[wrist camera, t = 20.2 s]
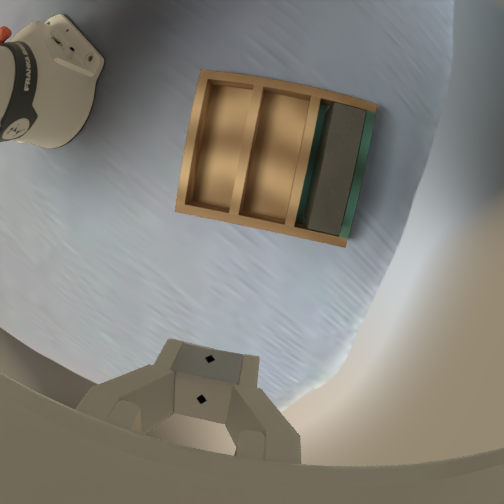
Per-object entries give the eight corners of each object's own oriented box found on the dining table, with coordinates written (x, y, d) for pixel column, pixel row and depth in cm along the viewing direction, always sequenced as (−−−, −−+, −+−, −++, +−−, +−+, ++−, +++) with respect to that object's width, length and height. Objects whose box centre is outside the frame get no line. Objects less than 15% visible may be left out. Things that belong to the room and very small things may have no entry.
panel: (328, 221, 36) (338, 235, 29) (303, 215, 36) (307, 228, 29) (350, 119, 32) (365, 110, 26) (325, 113, 32) (334, 102, 26)
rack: (339, 238, 38) (345, 247, 34) (185, 206, 38) (174, 211, 34) (367, 109, 33) (377, 104, 29) (208, 78, 34) (200, 69, 30)
